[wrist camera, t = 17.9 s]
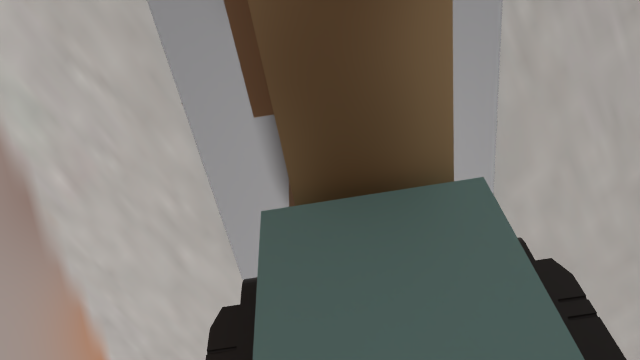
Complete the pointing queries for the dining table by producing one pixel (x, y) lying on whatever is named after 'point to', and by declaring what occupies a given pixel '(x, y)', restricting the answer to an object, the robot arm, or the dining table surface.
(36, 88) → the dining table surface
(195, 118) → the board
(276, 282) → the cube
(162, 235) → the dining table surface
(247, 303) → the robot arm
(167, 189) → the dining table surface
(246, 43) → the pillar
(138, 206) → the dining table surface
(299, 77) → the plank
